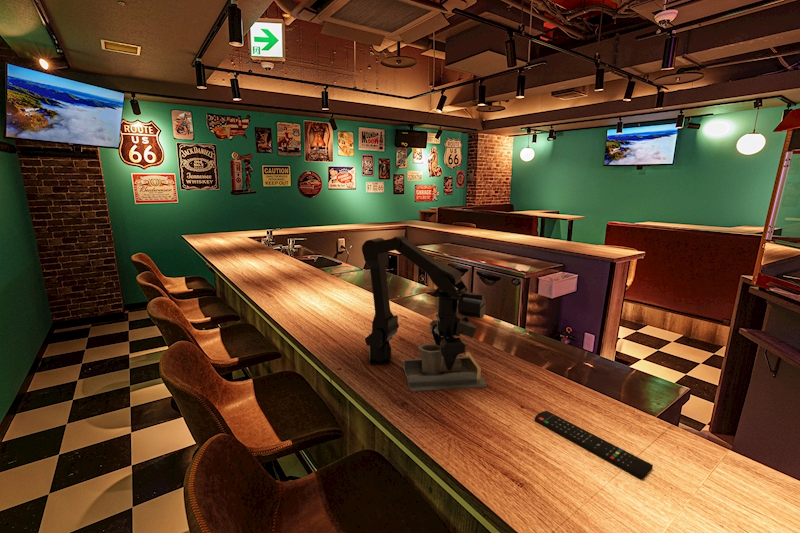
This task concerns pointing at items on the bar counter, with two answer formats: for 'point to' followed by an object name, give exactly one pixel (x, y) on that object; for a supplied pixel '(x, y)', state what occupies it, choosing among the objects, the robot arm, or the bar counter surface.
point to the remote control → (595, 444)
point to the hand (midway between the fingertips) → (445, 362)
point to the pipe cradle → (444, 376)
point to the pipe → (435, 360)
